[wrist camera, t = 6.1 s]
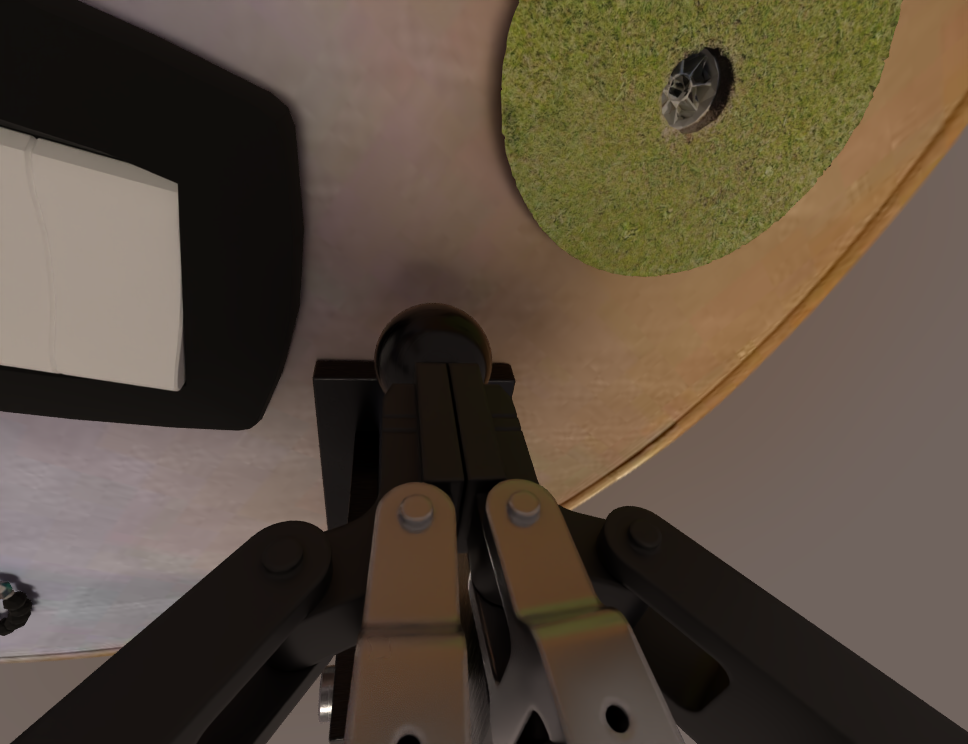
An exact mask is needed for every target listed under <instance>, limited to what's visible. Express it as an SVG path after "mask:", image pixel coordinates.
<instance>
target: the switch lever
mask: <svg viewBox="0 0 968 744" xmlns="http://www.w3.org/2000/svg"><path fill="white" fill-rule="evenodd" d="M415 362H422V363H446V366H447V363H477V364H478V365H479V368H480V371H481V375H482V379H483V383H484V384H488V382H489V379H490V375H491V370H492V354H491V348H490V344H489V341H488V339H487V336H486V334H485V333H484V331H483V329H482V328H481V327H480V325H479V324H478V323H477V322H476V321H475V320H474V319H473V318H472V317H471V316H469V315H468V314H467V313H465V312H464V311H462V310H460V309H458V308H456V307H454V306H451V305H447V304H442V303H425V304H419V305H416V306H412V307H410V308H408V309H406V310H404V311H402V312H401V313H399V314H398V315H397V316H395V317H394V318H393V319H392V320H391V321H390V322H389V323H388V324H387V326H386V327H385V328H384V330H383V331H382V333H381V335H380V337H379V339H378V342H377V345H376V349H375V356H374V367H375V373H376V377H377V380H378V383H379V386H380V388H381V390H382V391H383V393H384V394H386V392H387V391H388V389H389V388H390V386H391V385H392V383H394V384H413V378H414V365H415Z"/></svg>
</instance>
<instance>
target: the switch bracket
mask: <svg viewBox="0 0 968 744" xmlns="http://www.w3.org/2000/svg"><path fill="white" fill-rule="evenodd" d="M488 384H499V385H500V386H501V387H502V388H503V389H504V390H505V392H506V393H507V394H508V395H509V396H510V397H511V398H512V394H513V390H514V385H515V378H514V375H513V372H512V369H511V366H510V365H509V364H492V370H491V375H490V379H489V382H488ZM313 387H314V397H315V407H316V417H317V427H318V437H319V447H320V457H321V467H322V477H323V487H324V497H325V507H326V517H327V527H328V530H330V529H333V528H336V527H339V526H342V525H345V524H347V523H350V522H352V521H354V520H356V519H358V518H360V517H361V516H362V515H364V514H365V513H366V512H367V511H368V510H369V509H370V508H371V507H372V506H373V504H374V503H375V502H376V500H377V498H378V495H379V492H380V486H381V448H382V405H383V397H384V395H385V394H384V393H383V391H382V390H381V388H380V386H379V383H378V380H377V377H376V373H375V367H374V362H365V361H317V362H316V365H315V370H314V374H313ZM457 560H458V584H459V609H460V623H461V627H462V628H463V629H464V632H465V638H466V647H467V662H468V682H469V702H470V722H471V742H472V744H493V740H492V733H491V724H490V696H489V688H488V682H487V678H486V673H485V668H484V663H483V659H482V654H481V649H480V644H479V640H478V635H477V630H476V625H475V621H474V616H473V611H472V606H471V602H470V597H469V592H468V581H469V576H470V572H471V569H470V562H469V555H468V553H459V554H457ZM355 650H356V645H355V646H353V647H351V648H349V649H347V650H345V651H342V652H340V653H338V654H336V661H335V665H330V666H326V667H325V669H324V670H323V671H322V674H321V681H320V690H319V708H318V709H319V710H318V713H319V714H318V715H319V722H320V723H327V722H330V731H329V743H330V744H343V742H344V734H345V726H346V718H347V711H348V703H349V695H350V687H351V680H352V672H353V664H354V657H355Z"/></svg>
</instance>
